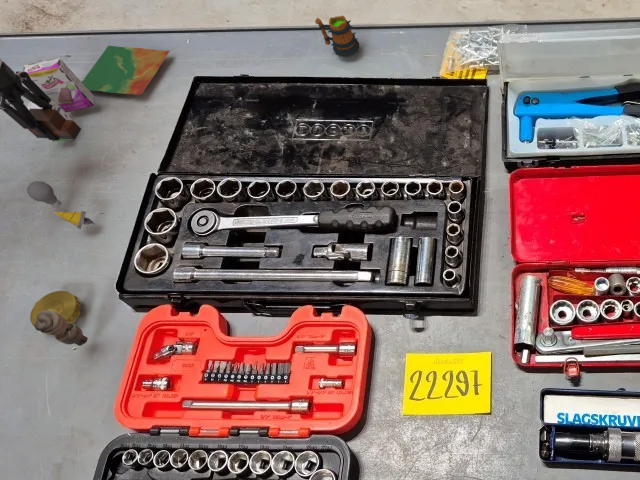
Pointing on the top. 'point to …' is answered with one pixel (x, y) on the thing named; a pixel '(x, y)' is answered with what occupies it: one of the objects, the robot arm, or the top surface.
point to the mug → (340, 36)
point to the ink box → (55, 107)
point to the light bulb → (43, 193)
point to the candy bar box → (60, 84)
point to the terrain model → (124, 70)
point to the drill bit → (75, 218)
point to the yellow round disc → (57, 306)
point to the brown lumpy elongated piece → (59, 328)
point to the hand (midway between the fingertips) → (58, 132)
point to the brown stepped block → (55, 124)
